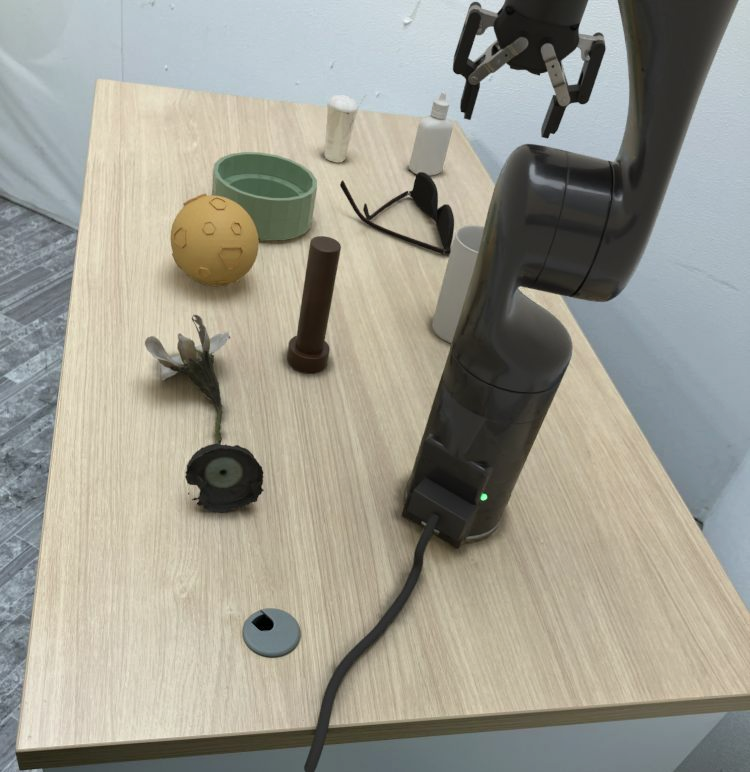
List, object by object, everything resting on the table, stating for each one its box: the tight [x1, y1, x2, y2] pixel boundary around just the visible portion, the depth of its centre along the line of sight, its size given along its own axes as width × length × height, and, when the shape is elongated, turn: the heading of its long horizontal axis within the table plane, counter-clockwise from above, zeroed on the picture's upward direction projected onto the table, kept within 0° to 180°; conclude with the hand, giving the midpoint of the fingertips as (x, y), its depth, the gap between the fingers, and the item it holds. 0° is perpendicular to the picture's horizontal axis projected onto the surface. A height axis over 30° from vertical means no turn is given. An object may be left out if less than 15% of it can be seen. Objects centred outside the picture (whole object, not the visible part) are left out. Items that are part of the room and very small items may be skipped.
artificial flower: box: [144, 314, 265, 514], centre depth 75 cm, size 9×22×10 cm, turn 12°
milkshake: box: [323, 94, 367, 163], centre depth 122 cm, size 4×5×10 cm
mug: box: [431, 224, 485, 344], centre depth 95 cm, size 10×7×12 cm, turn 1°
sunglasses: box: [339, 172, 455, 255], centre depth 112 cm, size 17×14×5 cm
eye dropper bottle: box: [408, 91, 454, 177], centre depth 125 cm, size 4×6×12 cm
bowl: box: [211, 151, 318, 241], centre depth 106 cm, size 13×13×6 cm
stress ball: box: [169, 193, 260, 287], centre depth 92 cm, size 10×10×10 cm
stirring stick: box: [286, 235, 342, 375], centre depth 83 cm, size 4×4×14 cm
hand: (506, 125), depth 86 cm, fingers open, 8 cm apart
